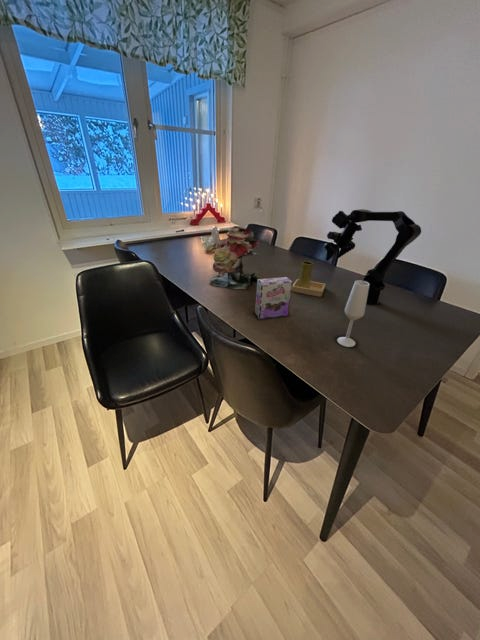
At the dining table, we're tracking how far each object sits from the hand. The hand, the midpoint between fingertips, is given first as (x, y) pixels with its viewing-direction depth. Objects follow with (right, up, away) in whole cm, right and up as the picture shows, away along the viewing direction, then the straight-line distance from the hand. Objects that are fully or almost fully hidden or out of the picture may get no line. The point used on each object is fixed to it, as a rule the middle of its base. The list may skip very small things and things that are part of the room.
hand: (332, 259), depth 147 cm
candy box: (-36, -31, -26) cm, 54 cm away
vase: (-16, -16, -1) cm, 22 cm away
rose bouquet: (-54, -11, +6) cm, 55 cm away
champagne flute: (-9, -41, -43) cm, 60 cm away
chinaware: (-72, +24, +66) cm, 101 cm away
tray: (-13, -17, -1) cm, 21 cm away
